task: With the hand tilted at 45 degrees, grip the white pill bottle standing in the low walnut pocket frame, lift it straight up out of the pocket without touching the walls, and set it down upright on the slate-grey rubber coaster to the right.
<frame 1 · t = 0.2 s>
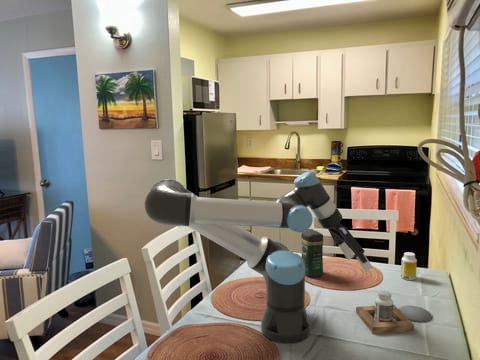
hand: (359, 263, 132), 15 cm above the table, tool tilted 35°, fingers open, 13 cm apart
pocket: (383, 321, 123), on the table
pill bottle: (383, 321, 123), resting in pocket
coaster: (414, 314, 127), on the table
supplement bottle: (408, 278, 156), on the table
coffee jar: (311, 273, 163), on the table
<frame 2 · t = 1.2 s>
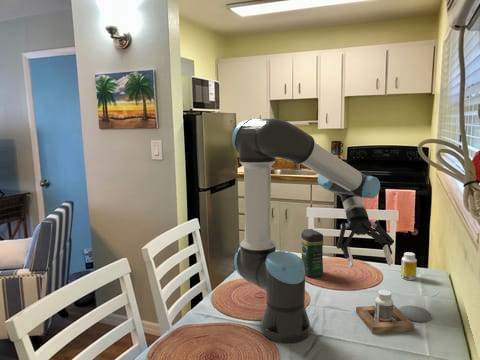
hand: (371, 265, 131), 15 cm above the table, tool tilted 45°, fingers open, 13 cm apart
nothing on the table moved.
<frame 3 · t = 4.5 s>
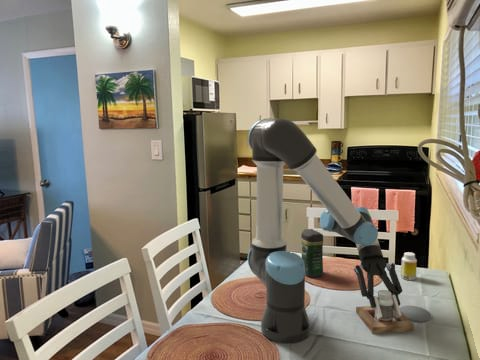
hand: (389, 317, 119), 3 cm above the table, tool tilted 45°, fingers closed on pill bottle, 5 cm apart
pill bottle: (383, 321, 123), resting in pocket, touching gripper
everything else where it was.
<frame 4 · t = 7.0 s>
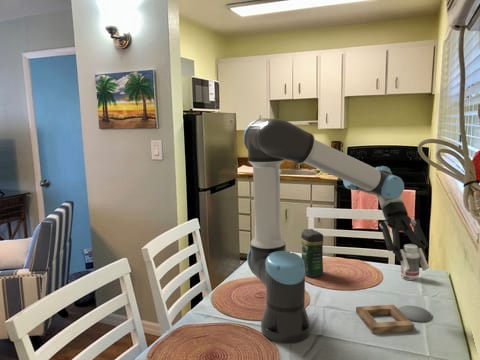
hand: (416, 269, 120), 17 cm above the table, tool tilted 45°, fingers closed on pill bottle, 5 cm apart
pill bottle: (409, 275, 124), point 14 cm above the table, touching gripper
everything else where it was.
when the fingers open (5 cm above the table, at t = 9.6 s): pill bottle drops 1 cm, resting on coaster.
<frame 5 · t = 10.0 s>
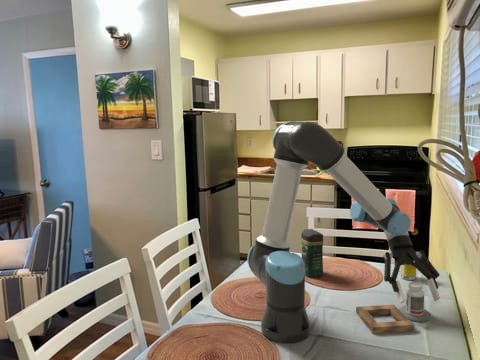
hand: (420, 300, 123), 6 cm above the table, tool tilted 45°, fingers open, 11 cm apart
pill bottle: (414, 313, 127), resting on coaster
everything else where it was.
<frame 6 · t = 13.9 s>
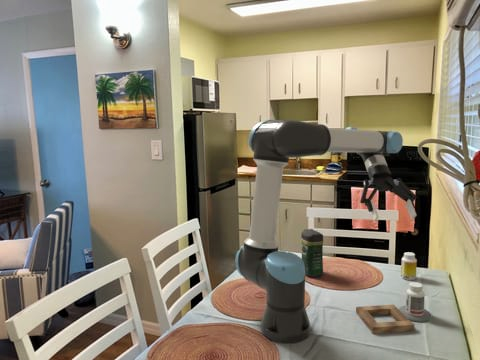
hand: (395, 218, 134), 30 cm above the table, tool tilted 45°, fingers open, 13 cm apart
nothing on the table moved.
at the end: pill bottle inside the target area on the coaster (0.0 cm from its centre), point 0.3 cm above the coaster's base; pill bottle tilted 0°; the gripper is holding nothing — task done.
